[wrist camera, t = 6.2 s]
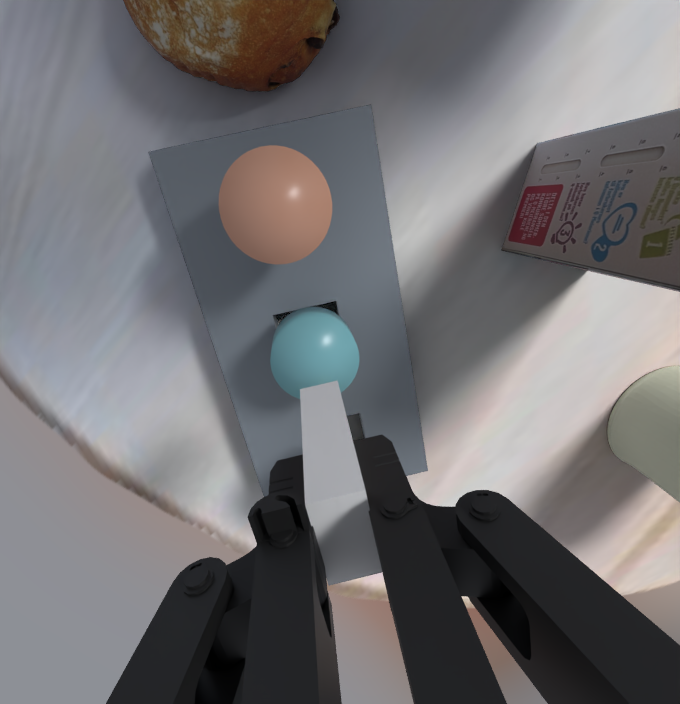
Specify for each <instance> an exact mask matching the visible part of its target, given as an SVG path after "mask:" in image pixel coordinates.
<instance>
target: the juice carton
mask: <svg viewBox="0 0 680 704" xmlns="http://www.w3.org/2000/svg"><path fill="white" fill-rule="evenodd" d="M502 251H506V252H511V253H515V254H519V255H523V256H528V257H532V258H536V259H540V260H545V261H549V262H553V263H557V264H561V265H566V266H570V267H574V268H578V269H583V270H587V271H591V272H596V273H600V274H604V275H609V276H613V277H618V278H622V279H626V280H631V281H635V282H639V283H644V284H648V285H653V286H657V287H661V288H666V289H670V290H674V291H679V292H680V108H679V109H675V110H671V111H667V112H663V113H658V114H654V115H650V116H646V117H642V118H638V119H634V120H630V121H626V122H621V123H617V124H613V125H609V126H605V127H601V128H597V129H593V130H589V131H585V132H581V133H577V134H573V135H569V136H565V137H561V138H557V139H553V140H549V141H545V142H541V143H537V146H536V149H535V152H534V155H533V158H532V161H531V164H530V167H529V170H528V173H527V176H526V179H525V182H524V185H523V188H522V191H521V193H520V196H519V199H518V202H517V205H516V208H515V211H514V214H513V217H512V220H511V223H510V226H509V229H508V232H507V235H506V238H505V241H504V244H503V247H502Z"/></svg>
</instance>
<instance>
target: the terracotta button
mask: <svg viewBox="0 0 680 704" xmlns="http://www.w3.org/2000/svg"><path fill="white" fill-rule="evenodd" d="M219 213H220V217H221V221H222V223H223V226H224V229H225V230H226V232H227V234H228V236H229V237H230V239H231V240H232V242H233V243H234V244H235V245H236V246H237V247H238V248H239V249H240V250H241V251H242V252H244V253H245V254H246V255H248V256H250V257H251V258H253V259H255V260H258V261H261V262H264V263H268V264H288V263H293V262H296V261H298V260H301V259H303V258H305V257H306V256H308V255H309V254H311V253H312V252H313V251H314V250H315V249H316V248H317V247H318V246H319V245H320V244H321V242H322V241H323V239H324V238H325V236H326V234H327V232H328V229H329V226H330V222H331V218H332V198H331V193H330V189H329V186H328V184H327V181H326V179H325V178H324V176H323V174H322V173H321V171H320V170H319V168H318V167H317V166H316V165H315V164H314V163H313V162H312V161H311V160H310V159H309V158H307V157H306V156H305V155H303V154H302V153H300V152H298V151H296V150H294V149H291V148H288V147H284V146H277V145H268V146H261V147H258V148H254V149H252V150H250V151H248V152H246V153H244V154H243V155H241V156H240V157H239V158H238V159H237V160H236V161H234V163H233V164H232V165H231V166H230V167H229V169H228V171H227V172H226V174H225V176H224V178H223V180H222V184H221V187H220V192H219Z"/></svg>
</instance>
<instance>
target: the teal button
mask: <svg viewBox="0 0 680 704" xmlns="http://www.w3.org/2000/svg"><path fill="white" fill-rule="evenodd" d="M270 364H271V370H272V373H273V376H274V378H275V380H276V382H277V383H278V384H279V386H280V387H281V388H282V389H283V390H284V391H286V392H287V393H288V394H290V395H291V396H293V397H296V398H298V399H300V389H303V388H307V387H312V386H316V385H320V384H324V383H329V382H333V381H338V384H339V388H340V392H343V391H344V390H345V389H346V388H347V387H348V386H349V385H350V384H351V383H352V381H353V379H354V378H355V376H356V373H357V371H358V367H359V350H358V347H357V344H356V342H355V340H354V337H353V335H352V333H351V331H350V329H349V327H348V325H347V324H346V322H345V321H344V320H343V319H342V318H341V317H340V316H339V315H337V314H336V313H334V312H333V311H331V310H328V309H325V308H321V307H305V308H301V309H298V310H296V311H294V312H292V313H290V314H289V315H287V316H286V317H285V318H284V319H283V320H282V321H281V322H280V324H279V325H278V327H277V329H276V330H275V333H274V336H273V341H272V349H271V357H270Z"/></svg>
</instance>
